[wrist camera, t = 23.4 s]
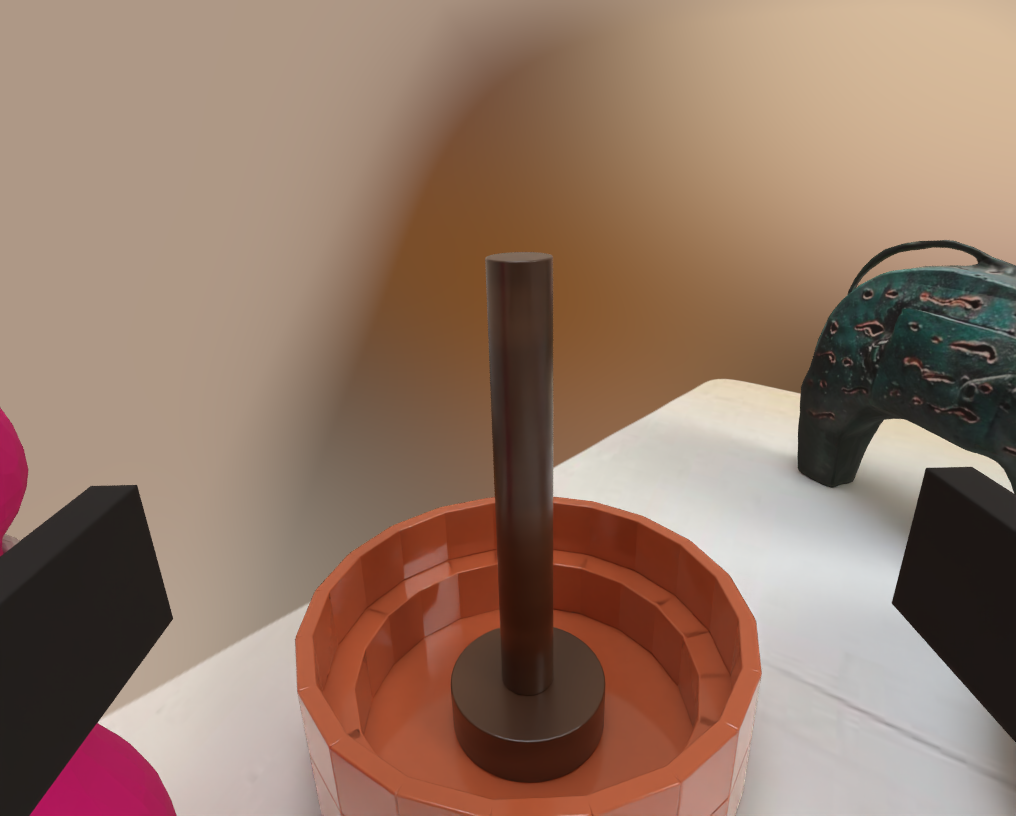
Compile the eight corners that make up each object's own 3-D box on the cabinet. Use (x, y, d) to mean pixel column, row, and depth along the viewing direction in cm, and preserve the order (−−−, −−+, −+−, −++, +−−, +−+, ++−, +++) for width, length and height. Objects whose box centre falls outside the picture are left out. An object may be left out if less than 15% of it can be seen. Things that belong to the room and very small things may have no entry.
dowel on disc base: (429, 760, 23) (380, 270, 16) (481, 647, 28) (460, 244, 22) (590, 801, 21) (605, 274, 15) (613, 673, 27) (632, 244, 20)
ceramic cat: (1179, 613, 30) (1378, 172, 23) (1103, 655, 28) (1298, 178, 20) (831, 455, 47) (882, 174, 40) (766, 472, 45) (807, 177, 37)
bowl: (221, 872, 20) (181, 735, 18) (424, 575, 34) (415, 479, 32) (755, 1056, 16) (787, 904, 13) (731, 626, 30) (745, 519, 28)
